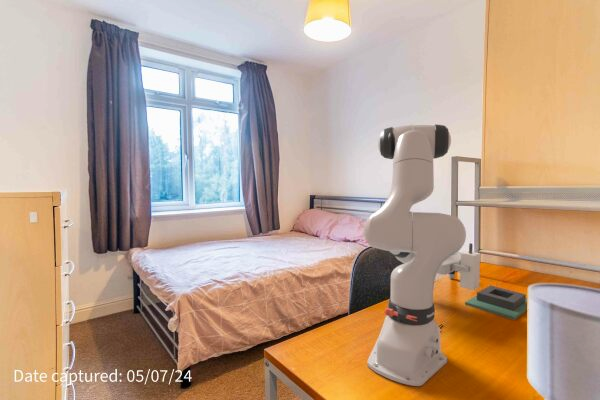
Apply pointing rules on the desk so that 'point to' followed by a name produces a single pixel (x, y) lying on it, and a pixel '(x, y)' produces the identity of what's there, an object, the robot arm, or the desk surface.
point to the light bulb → (451, 275)
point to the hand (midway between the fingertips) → (472, 267)
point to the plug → (472, 277)
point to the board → (497, 309)
